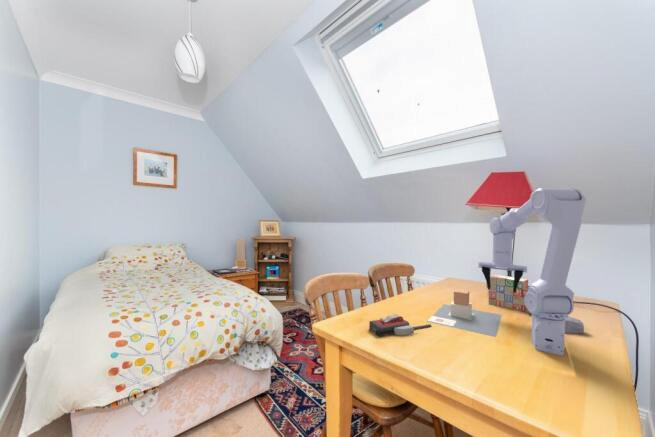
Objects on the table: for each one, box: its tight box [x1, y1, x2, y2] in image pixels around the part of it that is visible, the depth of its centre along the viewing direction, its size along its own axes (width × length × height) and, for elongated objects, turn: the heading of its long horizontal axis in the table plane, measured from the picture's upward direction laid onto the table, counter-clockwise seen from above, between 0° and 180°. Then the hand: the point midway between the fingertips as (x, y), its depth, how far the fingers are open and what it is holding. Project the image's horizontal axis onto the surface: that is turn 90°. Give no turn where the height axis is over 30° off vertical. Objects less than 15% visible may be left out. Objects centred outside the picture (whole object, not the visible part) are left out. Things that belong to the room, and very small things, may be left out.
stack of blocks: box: [488, 274, 532, 316], centre depth 109 cm, size 21×6×12 cm, turn 36°
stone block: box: [565, 315, 585, 335], centre depth 93 cm, size 12×5×10 cm
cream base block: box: [450, 300, 473, 319], centre depth 101 cm, size 6×6×4 cm
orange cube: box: [453, 288, 470, 306], centre depth 101 cm, size 4×4×4 cm
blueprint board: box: [426, 303, 503, 338], centre depth 97 cm, size 24×20×1 cm
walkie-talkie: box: [369, 314, 432, 337], centre depth 89 cm, size 9×4×20 cm
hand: (501, 290), depth 99 cm, fingers open, 7 cm apart
